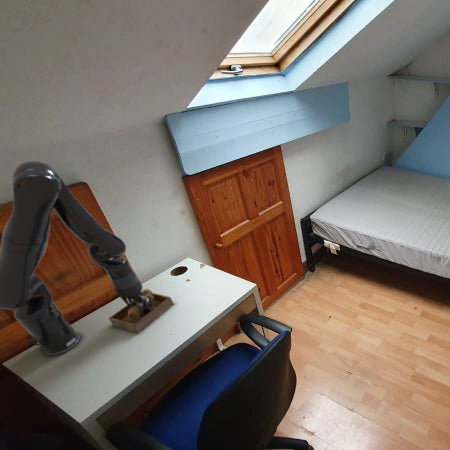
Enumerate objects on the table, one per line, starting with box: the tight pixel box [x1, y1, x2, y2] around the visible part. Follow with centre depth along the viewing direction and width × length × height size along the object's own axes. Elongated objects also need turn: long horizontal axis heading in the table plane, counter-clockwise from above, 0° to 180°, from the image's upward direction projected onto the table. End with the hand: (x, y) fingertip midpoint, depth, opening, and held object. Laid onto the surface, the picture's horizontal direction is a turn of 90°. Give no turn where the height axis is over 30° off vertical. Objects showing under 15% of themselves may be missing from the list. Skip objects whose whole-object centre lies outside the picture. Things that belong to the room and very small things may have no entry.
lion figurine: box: [128, 288, 155, 323], centre depth 127 cm, size 15×5×9 cm, turn 3°
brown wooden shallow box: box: [108, 292, 175, 334], centre depth 129 cm, size 13×16×4 cm
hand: (143, 312), depth 130 cm, fingers closed on lion figurine, 4 cm apart
